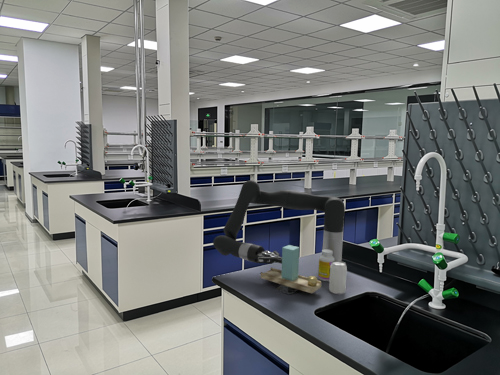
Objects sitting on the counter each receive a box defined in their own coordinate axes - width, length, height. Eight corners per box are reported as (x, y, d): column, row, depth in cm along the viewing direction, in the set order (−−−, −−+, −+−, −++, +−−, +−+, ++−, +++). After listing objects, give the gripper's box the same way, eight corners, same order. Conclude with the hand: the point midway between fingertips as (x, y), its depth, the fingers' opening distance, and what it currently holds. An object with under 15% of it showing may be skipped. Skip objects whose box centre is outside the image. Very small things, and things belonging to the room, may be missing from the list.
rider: (281, 278, 148) (282, 247, 146) (287, 274, 152) (288, 244, 150) (291, 281, 145) (293, 250, 143) (298, 277, 149) (299, 247, 147)
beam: (260, 278, 153) (260, 272, 152) (271, 272, 159) (271, 267, 159) (311, 293, 138) (312, 287, 138) (321, 287, 145) (321, 281, 144)
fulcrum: (275, 289, 147) (275, 284, 146) (289, 281, 155) (289, 276, 155) (290, 294, 143) (290, 288, 142) (303, 286, 151) (304, 280, 151)
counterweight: (305, 285, 142) (306, 277, 142) (310, 282, 145) (310, 275, 145) (314, 287, 140) (314, 280, 140) (318, 284, 143) (318, 277, 143)
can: (327, 292, 146) (328, 263, 144) (331, 286, 151) (333, 259, 150) (343, 296, 143) (345, 266, 141) (347, 290, 148) (348, 262, 147)
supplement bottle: (329, 283, 155) (331, 254, 153) (315, 279, 159) (316, 251, 157) (335, 278, 160) (337, 250, 159) (322, 274, 164) (323, 247, 163)
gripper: (242, 247, 154) (276, 256, 144) (260, 241, 164) (293, 248, 154) (242, 264, 155) (276, 274, 145) (259, 257, 165) (292, 265, 155)
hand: (285, 261), depth 149 cm, fingers closed
